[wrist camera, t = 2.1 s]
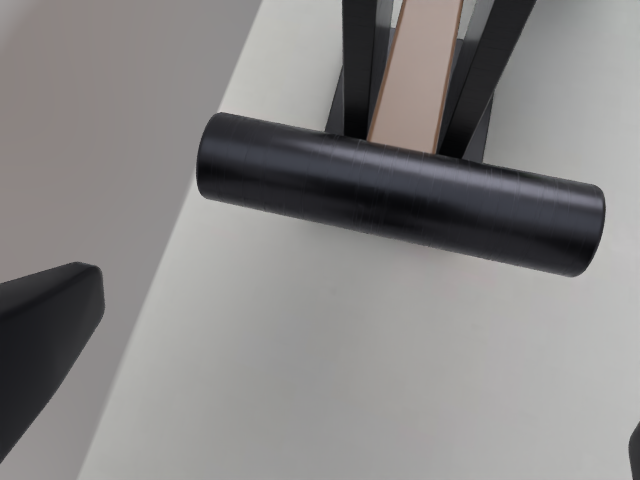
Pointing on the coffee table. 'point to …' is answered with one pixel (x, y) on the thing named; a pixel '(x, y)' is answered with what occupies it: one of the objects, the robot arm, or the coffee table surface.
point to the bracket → (465, 77)
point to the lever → (405, 169)
